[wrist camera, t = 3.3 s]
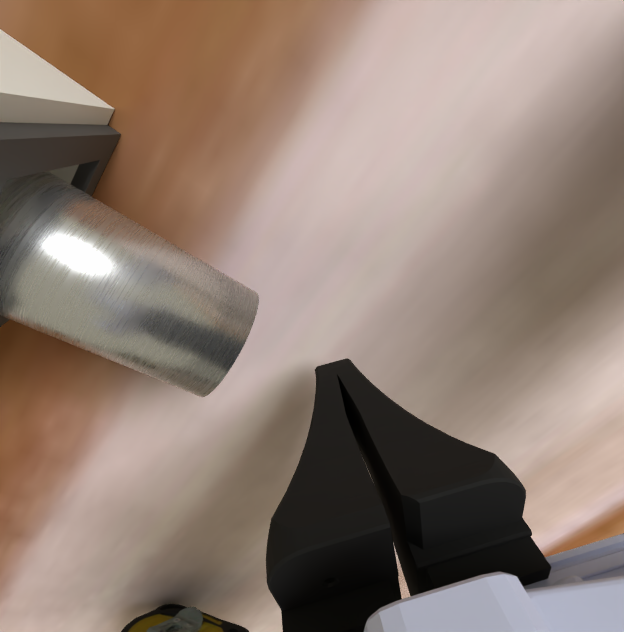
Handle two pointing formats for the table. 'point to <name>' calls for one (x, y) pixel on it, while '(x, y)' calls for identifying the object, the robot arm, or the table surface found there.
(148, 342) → the steel pin
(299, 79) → the table surface
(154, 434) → the table surface
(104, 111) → the white block
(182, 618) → the tape measure
